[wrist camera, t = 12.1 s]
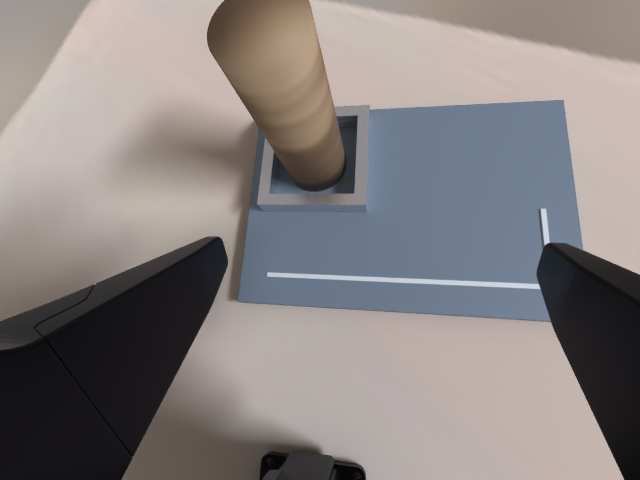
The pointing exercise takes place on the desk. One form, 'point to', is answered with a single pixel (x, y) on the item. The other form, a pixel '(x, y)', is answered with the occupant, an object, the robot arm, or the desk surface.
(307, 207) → the metal collar
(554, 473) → the desk surface
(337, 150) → the tan wooden peg
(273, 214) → the board
